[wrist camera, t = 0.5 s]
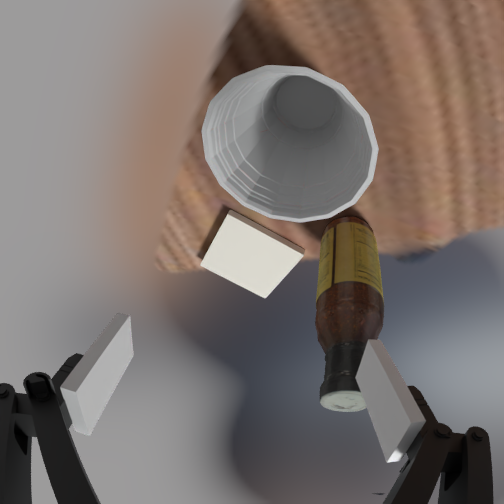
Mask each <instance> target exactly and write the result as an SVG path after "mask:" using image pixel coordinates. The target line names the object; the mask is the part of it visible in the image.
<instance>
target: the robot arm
mask: <svg viewBox="0 0 504 504" xmlns="http://www.w3.org/2000/svg"><path fill="white" fill-rule="evenodd" d="M133 356H134V355H133V346H132V334H131V321H130V315H126V314H121V313H117V314H116V315H115V317H114V318H113V319H112V320H111V322H110V323H109V324H108V325H107V327H106V328H105V329H104V330H103V332H102V333H101V334H100V335H99V337H98V338H97V339H96V340H95V342H94V343H93V344H92V346H91V347H90V348H89V350H88V351H87V352H86V353H85V355H81V354H77V353H76V354H74V355H73V356H71V357H69V358H68V359H67V360H66V362H65V363H64V364H63V365H62V367H61V368H60V369H59V371H57V373H56V374H55V375H54V377H53V378H52V379H51V378H50V376H49V375H47V374H46V373H42V372H35V373H32V374H30V375H28V376H27V377H26V378H25V379H24V382H23V385H24V388H25V390H26V393H27V394H22V393H16V392H15V390H14V388H13V386H11V385H10V384H7V383H1V384H0V504H32V497H31V443H32V437H37V439H38V442H39V446H40V450H41V453H42V457H43V461H44V464H45V467H46V470H47V473H48V476H49V480H50V483H51V485H52V488H53V491H54V494H55V497H56V499H57V502H58V504H101V503H100V502H99V499H98V498H97V495H96V493H95V492H94V489H93V487H92V485H91V483H90V481H89V479H88V476H87V474H86V472H85V469H84V467H83V465H82V462H81V460H80V458H79V455H78V453H77V450H76V447H75V445H74V442H73V440H72V437H71V434H70V431H69V427H70V426H71V424H73V427H74V429H75V431H76V432H79V433H82V434H85V435H89V436H90V435H91V433H92V431H93V429H94V427H95V425H96V423H97V421H98V419H99V418H100V416H101V414H102V412H103V410H104V408H105V406H106V404H107V403H108V401H109V399H110V397H111V395H112V393H113V391H114V389H115V388H116V386H117V384H118V382H119V381H120V379H121V377H122V375H123V373H124V371H125V370H126V368H127V366H128V365H129V363H130V361H131V359H132V357H133ZM355 378H356V381H357V383H358V386H359V388H360V391H361V393H362V396H363V399H364V401H365V404H366V407H367V409H368V412H369V415H370V417H371V420H372V423H373V425H374V428H375V431H376V434H377V437H378V439H379V442H380V445H381V448H382V451H383V453H384V456H385V459H386V462H395V461H401V460H402V458H403V457H404V455H405V454H406V453H407V455H408V458H409V459H408V461H407V462H406V463H405V465H404V466H403V468H402V469H401V470H400V472H401V473H400V475H399V477H398V478H397V480H396V482H395V484H394V486H393V487H392V489H391V491H390V493H389V494H388V496H387V498H386V499H385V501H384V502H383V504H428V502H429V499H430V497H431V495H432V493H433V490H434V488H435V486H436V483H437V481H438V478H439V476H440V473H441V480H440V489H439V498H438V504H493V477H492V462H491V452H490V442H489V436H488V433H487V432H486V431H485V430H484V429H482V428H480V427H471V428H469V429H468V431H467V432H466V433H465V434H460V433H453V432H452V430H451V429H450V428H449V427H448V426H447V425H445V424H442V423H438V421H437V420H436V418H435V416H434V414H433V413H432V411H431V409H430V407H429V406H428V405H427V402H426V401H425V400H424V397H423V395H422V394H421V392H420V391H419V390H418V389H417V388H416V387H414V386H407V385H406V383H405V382H404V380H403V378H402V377H401V375H400V373H399V371H398V369H397V368H396V366H395V364H394V362H393V361H392V359H391V357H390V356H389V354H388V352H387V350H386V349H385V347H384V345H383V344H382V342H381V340H371V339H368V342H367V345H366V348H365V351H364V354H363V357H362V360H361V363H360V366H359V369H358V372H357V375H356V377H355Z"/></svg>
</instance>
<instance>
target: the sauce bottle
mask: <svg viewBox="0 0 504 504" xmlns="http://www.w3.org/2000/svg"><path fill="white" fill-rule="evenodd" d="M316 309H317V312H316V322H315V324H316V330H317V333H318V341H319V343H320V345H321V346H322V348H323V350H324V352H325V354H326V356H325V361H326V365H325V375H324V382H323V384H322V385H321V387H320V403H321V404H322V406H324V407H325V408H327V409H330V410H335V411H346V412H351V411H359V410H362V409H365V408H367V407H366V404H365V401H364V399H363V396H362V393H361V391H360V388H359V386H358V383H357V381H356V378H355V377H356V375H357V372H358V369H359V366H360V363H361V360H362V357H363V354H364V351H365V348H366V345H367V342H368V339H371V340H377V338H378V336H379V333H380V332H381V329H382V326H383V318H384V301H383V291H382V282H381V272H380V264H379V257H378V249H377V243H376V239H375V236H374V233H373V230H372V228H371V227H370V226H369V225H368V224H367V223H366V222H364V221H362V220H361V219H359V218H357V217H343V218H339V219H335V220H333V221H332V222H330V223H329V224H328V225H327V227H326V229H325V231H324V233H323V235H322V240H321V248H320V262H319V276H318V289H317V298H316Z"/></svg>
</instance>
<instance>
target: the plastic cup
mask: <svg viewBox="0 0 504 504" xmlns="http://www.w3.org/2000/svg"><path fill="white" fill-rule="evenodd" d="M201 131H202V138H203V145H204V152H205V159H206V161H207V163H208V165H209V166H210V168H211V170H212V172H213V173H214V175H215V177H216V179H217V180H218V182H219V184H220V185H221V186H222V187H223V188H224V189H225V190H226V191H227V192H228V193H230V194H231V195H232V196H233V197H234V198H235V199H236V200H237V201H239V202H240V203H241V204H242V205H243V206H245V207H248V208H250V209H252V210H254V211H256V212H258V213H260V214H263V215H265V216H267V217H269V218H273V219H279V220H286V221H293V222H299V223H301V222H308V221H314V220H320V219H326V218H331V217H332V216H334V215H336V214H338V213H339V212H341V211H343V210H345V209H346V208H348V207H350V206H352V205H353V204H355V203H356V202H357V200H358V199H359V198H360V196H361V195H362V194H363V192H364V191H365V190H366V188H367V187H368V186H369V184H370V183H371V182H372V180H373V177H374V171H375V166H376V161H377V155H378V145H377V141H376V138H375V134H374V130H373V127H372V124H371V120H370V117H369V115H368V113H367V112H366V111H365V110H364V108H363V107H362V106H361V105H360V104H359V102H358V101H357V100H356V99H355V98H354V97H353V95H352V94H351V93H350V92H349V91H348V90H347V89H346V88H345V86H344V85H342V84H340V83H338V82H336V81H334V80H332V79H330V78H328V77H326V76H324V75H322V74H320V73H318V72H316V71H314V70H312V69H309V68H307V67H297V66H280V65H265V66H262V67H260V68H257V69H254V70H252V71H249V72H246V73H244V74H241V75H239V76H236V77H234V78H232V79H231V80H230V81H229V82H228V83H227V84H226V85H225V86H224V87H223V88H222V90H221V91H220V92H219V93H218V94H217V95H216V96H215V97H214V98H213V99H212V100H211V101H210V104H209V107H208V110H207V113H206V117H205V120H204V123H203V127H202V130H201Z"/></svg>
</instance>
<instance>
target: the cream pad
mask: <svg viewBox="0 0 504 504" xmlns="http://www.w3.org/2000/svg"><path fill="white" fill-rule="evenodd" d="M304 252H305V250H304V249H303V248H301V247H299V246H297V245H295V244H294V243H292V242H290V241H288V240H286V239H285V238H283V237H281V236H279V235H277V234H275V233H274V232H272V231H270V230H268V229H266V228H264V227H263V226H261V225H259V224H257V223H255V222H253V221H251V220H250V219H248V218H246V217H244V216H242V215H240V214H238V213H237V212H235V211H233V210H231V209H230V211H229V212H228V214H227V216H226V218H225V220H224V222H223V223H222V225H221V227H220V229H219V231H218V233H217V234H216V236H215V238H214V240H213V242H212V244H211V245H210V247H209V249H208V251H207V253H206V255H205V257H204V259H203V260H202V262H201V264H200V265H201V266H203V267H204V268H206V269H208V270H210V271H212V272H214V273H216V274H218V275H220V276H222V277H224V278H226V279H228V280H230V281H232V282H234V283H236V284H237V285H240V286H241V287H243V288H245V289H248V290H249V291H251V292H253V293H255V294H257V295H259V296H261V297H263V298H266V297H267V296H268V295H269V294H270V293H271V292H272V291H273V290H274V288H275V287H276V286H277V285H278V284H279V283H280V282H281V281H282V280H283V278H284V277H285V276H286V275H287V274H288V273H289V271H291V269H292V268H293V267H294V266H295V265H296V264H297V263H298V262H299V260H300V259H301V258H302V257H303V256H304Z"/></svg>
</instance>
